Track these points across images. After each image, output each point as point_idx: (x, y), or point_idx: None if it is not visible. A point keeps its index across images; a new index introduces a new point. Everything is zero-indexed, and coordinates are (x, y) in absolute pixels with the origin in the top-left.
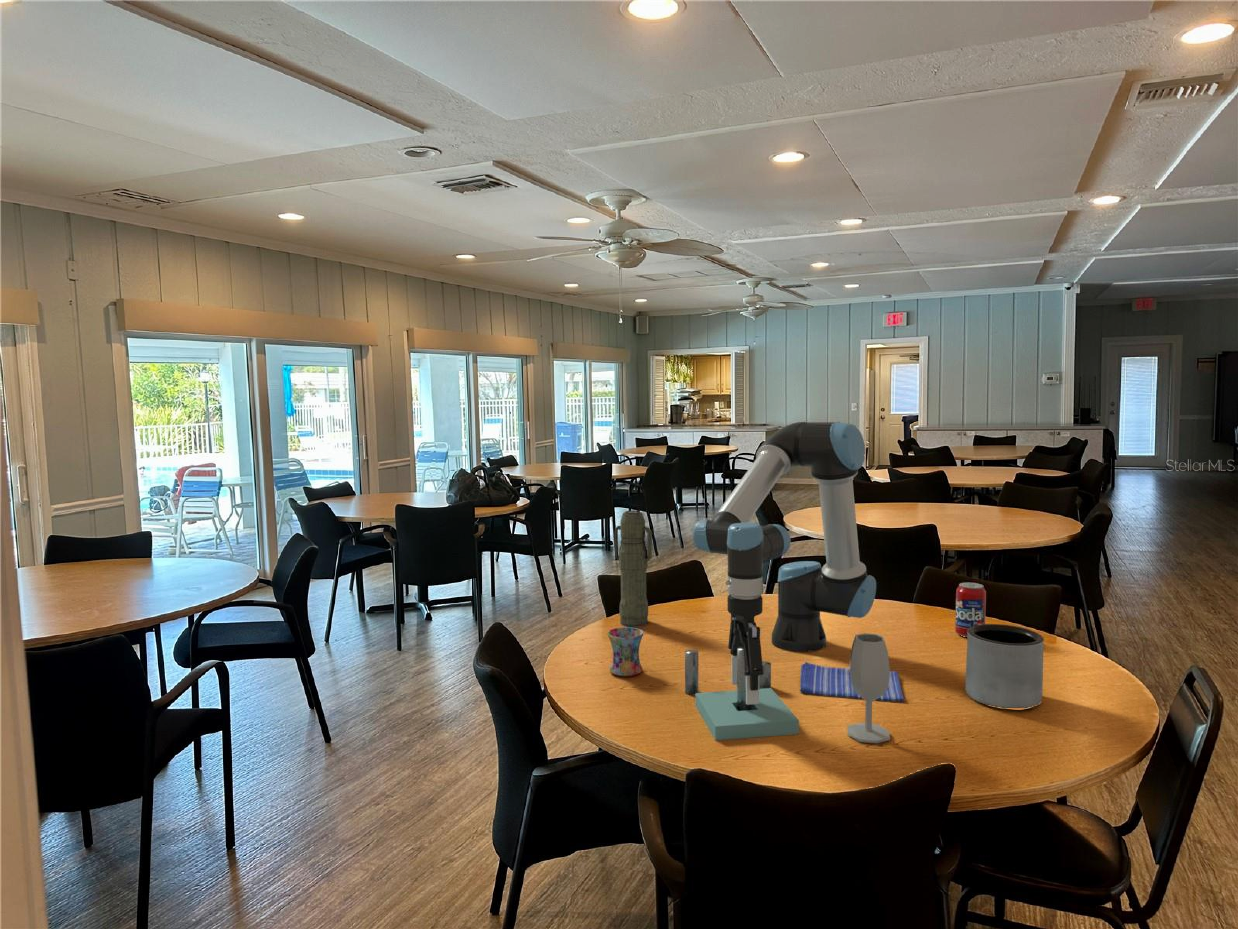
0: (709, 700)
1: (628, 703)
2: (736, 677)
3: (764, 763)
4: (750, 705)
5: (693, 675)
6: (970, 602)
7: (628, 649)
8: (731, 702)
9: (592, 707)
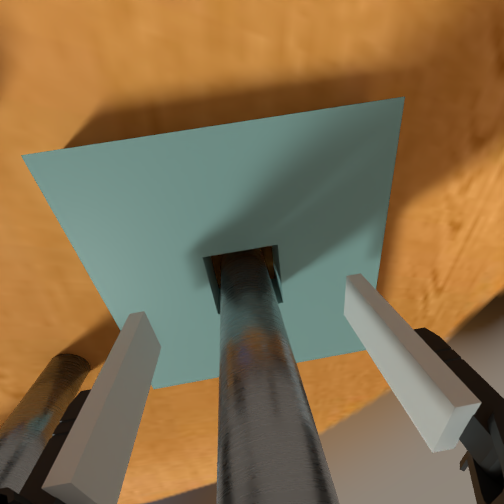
0: (203, 362)
1: (167, 442)
2: (146, 362)
3: (485, 239)
4: (265, 272)
5: (54, 420)
6: None
7: None
8: (216, 315)
9: (192, 470)
